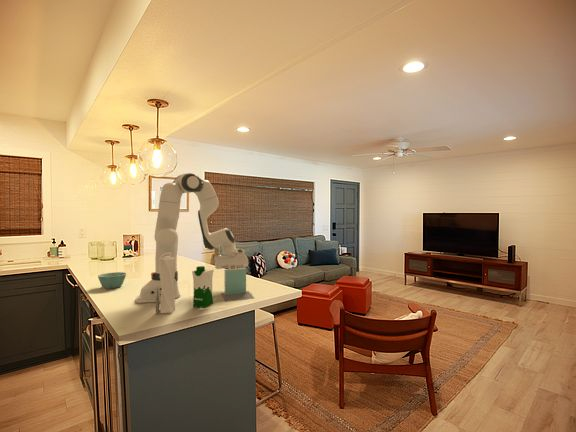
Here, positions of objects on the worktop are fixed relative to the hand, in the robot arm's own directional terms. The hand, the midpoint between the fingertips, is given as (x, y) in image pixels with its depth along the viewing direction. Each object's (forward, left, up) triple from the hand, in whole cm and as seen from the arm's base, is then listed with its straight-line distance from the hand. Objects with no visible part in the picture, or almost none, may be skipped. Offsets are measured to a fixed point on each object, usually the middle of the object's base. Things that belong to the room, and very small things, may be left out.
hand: (233, 272), depth 180 cm
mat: (0, -14, -11) cm, 18 cm away
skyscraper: (-36, -26, -11) cm, 46 cm away
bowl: (-70, +37, -11) cm, 80 cm away
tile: (0, -8, -10) cm, 13 cm away
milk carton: (-19, -23, -11) cm, 32 cm away
